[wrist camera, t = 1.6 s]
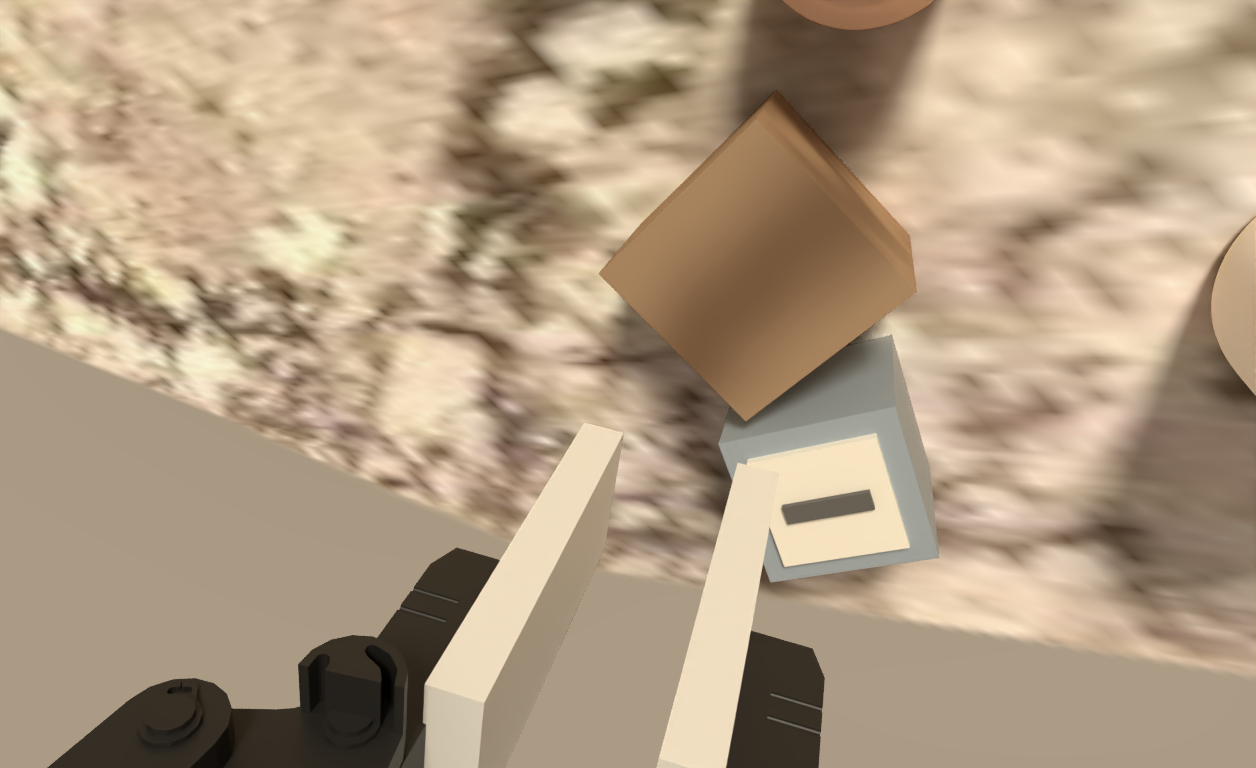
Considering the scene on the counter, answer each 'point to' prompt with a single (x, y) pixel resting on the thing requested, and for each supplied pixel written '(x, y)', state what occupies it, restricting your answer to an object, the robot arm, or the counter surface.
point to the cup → (1238, 305)
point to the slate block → (841, 467)
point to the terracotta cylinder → (857, 12)
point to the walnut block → (764, 260)
